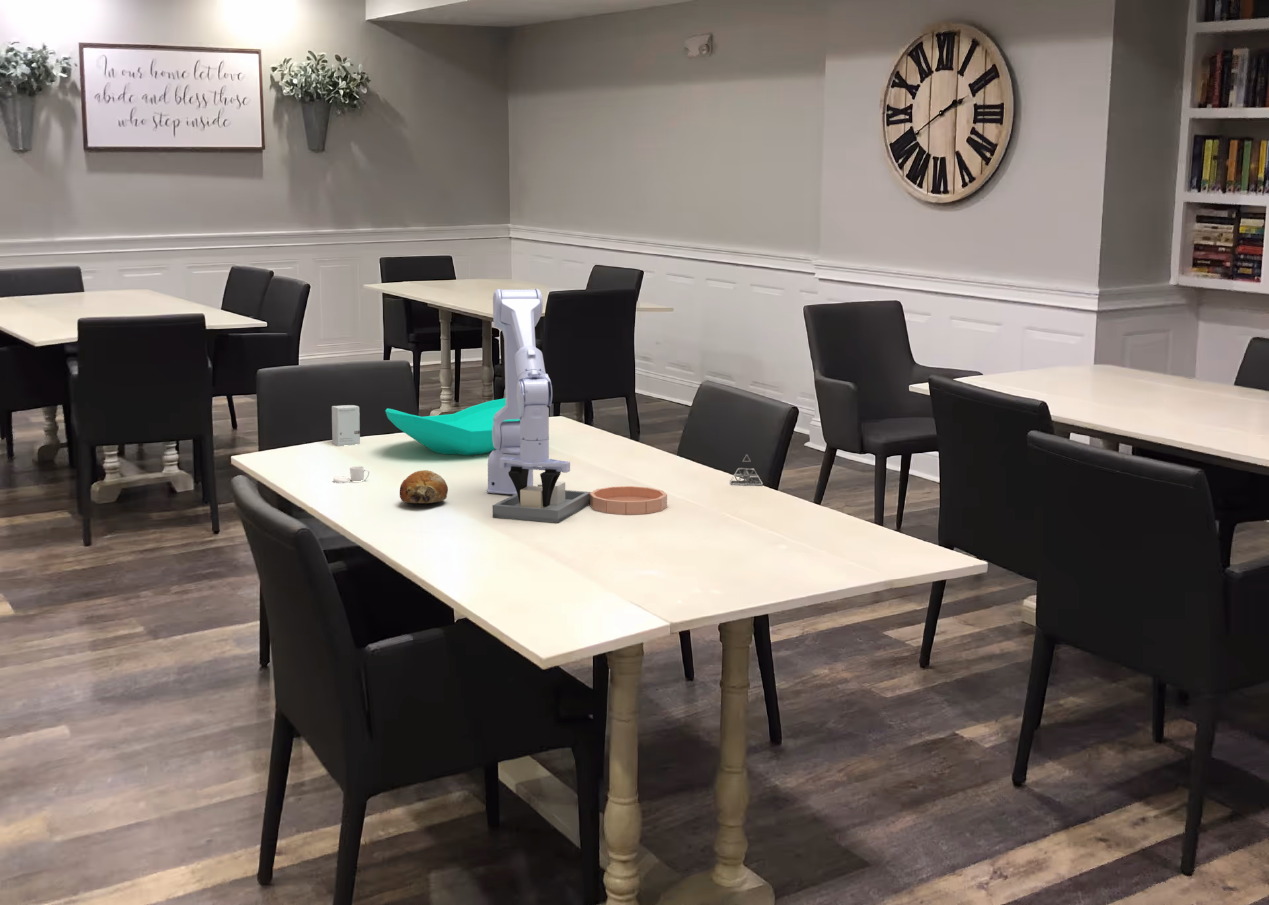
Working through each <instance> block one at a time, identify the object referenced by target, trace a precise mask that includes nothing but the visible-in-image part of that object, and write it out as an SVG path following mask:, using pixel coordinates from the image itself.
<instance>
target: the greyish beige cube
mask: <svg viewBox="0 0 1269 905" xmlns="http://www.w3.org/2000/svg"><path fill="white" fill-rule="evenodd" d="M537 486H539V487H542V482H540V483H538V484H537ZM565 490H566V482H565V481H557V482H556V484H555V486H554V489H553V492H552V496H551V500H550V505H559V504H561V503H562V502H564V501H565Z"/></svg>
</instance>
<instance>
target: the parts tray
mask: <svg viewBox="0 0 1269 905" xmlns="http://www.w3.org/2000/svg"><path fill="white" fill-rule="evenodd" d="M591 492H592V491H582V490H581V491H580V490H571V489H570V490H569V489H565V501H564V502H562V503H561V504H559V505H549V507H548V508H534V507H522V506H520V503H519V498H518V494H515V495H514V494H512V495H511V496H508V497H507V498H504V499H502V500H500V501H499V502H497V503H494V504H493V505H492V518H496V519H504V520H505V519H506V520H507V519H508V520H518V521H519V520H520V521H530V522H543V523H551V524H552V523H554V524H559V523H561V522H563V521H564V520H565V519H568V518H570V517H571V516H573V515H574V514H576V513H578V512H579V511H582V510H583V509H586V508H587V507H588V506H590V493H591Z"/></svg>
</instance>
